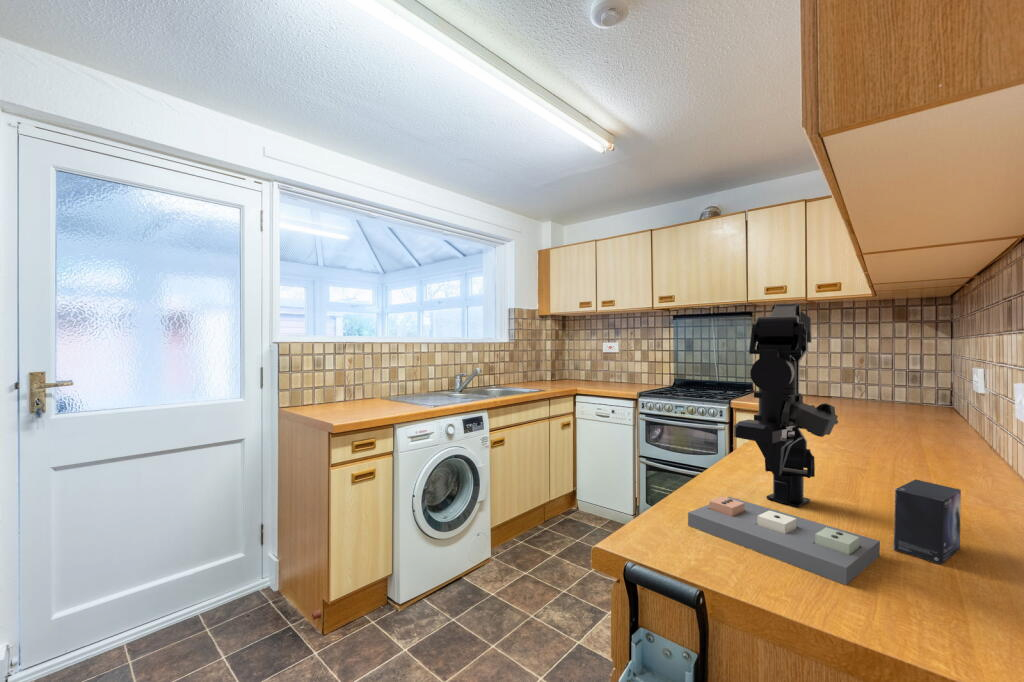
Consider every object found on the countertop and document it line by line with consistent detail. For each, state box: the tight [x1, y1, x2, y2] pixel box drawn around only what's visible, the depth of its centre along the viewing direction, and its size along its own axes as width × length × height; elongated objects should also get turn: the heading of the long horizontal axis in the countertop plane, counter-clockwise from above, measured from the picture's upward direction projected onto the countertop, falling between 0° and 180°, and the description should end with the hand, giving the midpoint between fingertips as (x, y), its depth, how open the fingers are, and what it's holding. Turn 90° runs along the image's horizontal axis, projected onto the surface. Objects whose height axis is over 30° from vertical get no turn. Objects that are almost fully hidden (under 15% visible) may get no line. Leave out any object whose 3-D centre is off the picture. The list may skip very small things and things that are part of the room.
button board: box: [687, 496, 881, 586], centre depth 77 cm, size 15×25×2 cm, turn 36°
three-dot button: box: [708, 496, 744, 517], centre depth 85 cm, size 4×4×3 cm
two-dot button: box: [815, 527, 859, 556], centre depth 70 cm, size 4×4×3 cm
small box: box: [893, 479, 962, 566], centre depth 74 cm, size 11×6×10 cm, turn 123°
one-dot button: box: [757, 510, 796, 534], centre depth 77 cm, size 4×4×3 cm
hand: (776, 474), depth 78 cm, fingers closed
